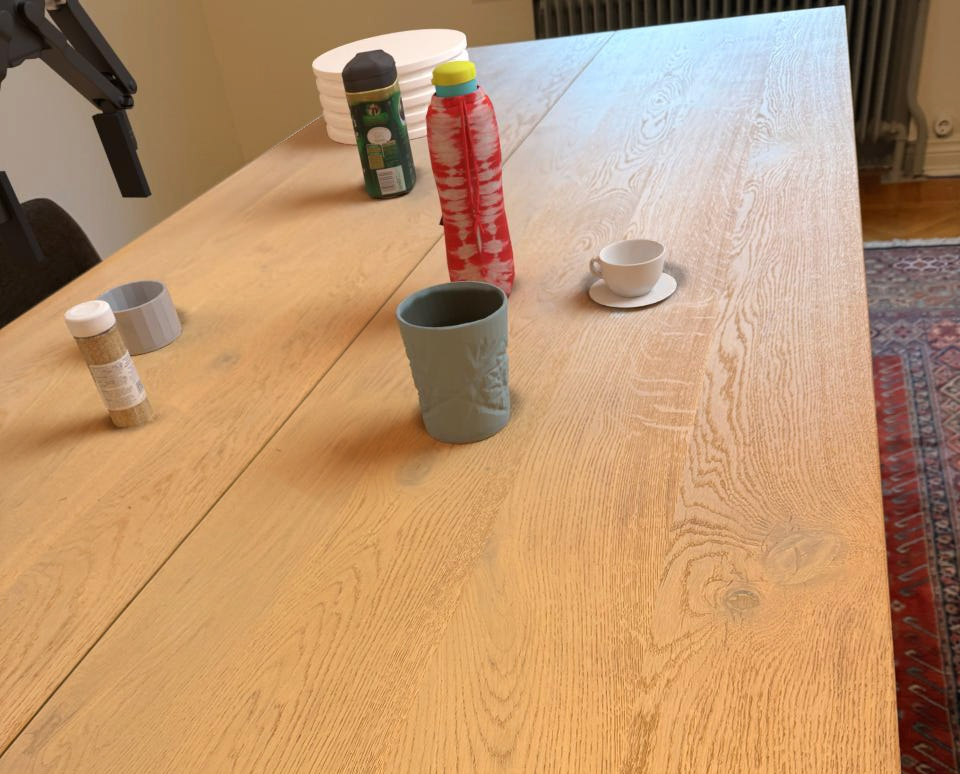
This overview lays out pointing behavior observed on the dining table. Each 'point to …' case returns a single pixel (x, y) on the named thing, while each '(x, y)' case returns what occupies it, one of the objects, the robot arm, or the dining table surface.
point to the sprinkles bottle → (109, 362)
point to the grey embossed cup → (458, 358)
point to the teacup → (631, 274)
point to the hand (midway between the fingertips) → (86, 227)
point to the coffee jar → (379, 123)
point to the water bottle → (469, 177)
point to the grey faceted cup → (143, 315)
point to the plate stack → (414, 70)
